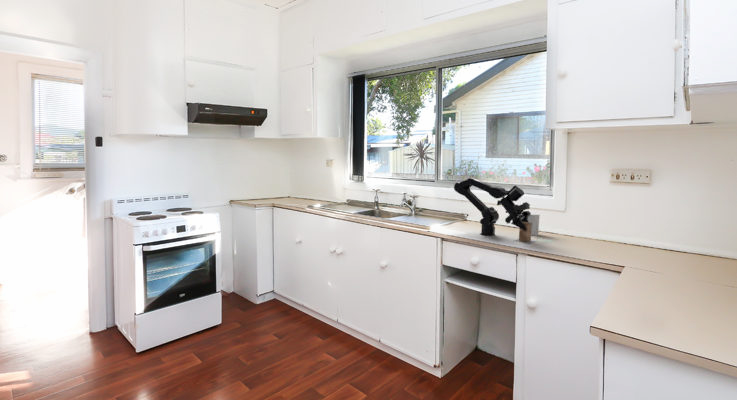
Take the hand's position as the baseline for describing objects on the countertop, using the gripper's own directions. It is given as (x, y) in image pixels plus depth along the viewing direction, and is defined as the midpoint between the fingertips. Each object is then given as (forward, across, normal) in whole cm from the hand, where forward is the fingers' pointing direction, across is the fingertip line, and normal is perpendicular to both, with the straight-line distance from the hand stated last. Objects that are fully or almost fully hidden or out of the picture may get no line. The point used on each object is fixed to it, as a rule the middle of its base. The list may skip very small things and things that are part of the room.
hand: (528, 229), depth 215 cm
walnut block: (+4, 0, +6) cm, 7 cm away
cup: (-1, +22, +11) cm, 25 cm away
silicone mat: (+4, 0, +6) cm, 7 cm away
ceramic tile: (+8, +10, +1) cm, 13 cm away
